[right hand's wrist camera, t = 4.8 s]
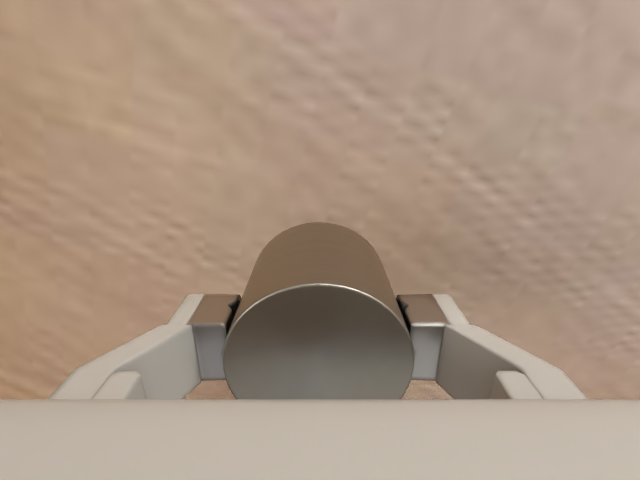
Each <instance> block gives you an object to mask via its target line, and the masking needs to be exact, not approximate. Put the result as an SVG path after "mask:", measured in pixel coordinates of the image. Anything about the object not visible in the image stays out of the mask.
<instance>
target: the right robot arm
mask: <svg viewBox="0 0 640 480" xmlns="http://www.w3.org/2000/svg"><path fill="white" fill-rule="evenodd" d="M240 301H241V297H240V295H229V294H189V295H187V296H186V297H185V299H184V300H183V302H182V303H181V305H180V306H179V307H178V309H177V310H176V312H175V313H174V315H173V316H172V317H171V319H170V320H169V322H168V323H167V325H160V326H158V327H156V328H154V329H152V330H150V331H148V332H146V333H144V334H142V335H140V336H138V337H136V338H135V339H133V340H131V341H129V342H127V343H125V344H123V345H121V346H119V347H117V348H115V349H113V350H111V351H109V352H107V353H106V354H104V355H102V356H100V357H98V358H96V359H94V360H92V361H90V362H88V363H86V364H84V365H82V366H80V367H78V368H76V369H75V370H74V371H73V372H72V373H71V374H70V375H69V376H68V377H67V378H66V380H65V381H64V382H63V383H62V384H61V385H60V386H59V387H58V388H57V389H56V390H55V391H54V393H53V394H52V395H51V396H50V397H49V398H48V399H0V480H640V399H587V398H586V396H585V395H584V394H583V393H582V392H581V391H580V390H579V389H578V388H577V386H576V385H575V384H574V383H573V382H572V381H571V380H570V379H569V378H568V376H567V375H566V374H565V373H564V372H563V371H562V370H561V369H559V368H557V367H555V366H553V365H551V364H549V363H548V362H546V361H544V360H542V359H540V358H538V357H536V356H534V355H532V354H530V353H528V352H527V351H525V350H523V349H521V348H519V347H517V346H515V345H513V344H511V343H509V342H507V341H505V340H504V339H502V338H500V337H498V336H496V335H494V334H492V333H490V332H488V331H486V330H484V329H483V328H481V327H479V326H477V325H470V324H469V322H468V321H467V319H466V318H465V317H464V315H463V314H462V312H461V311H460V309H459V308H458V306H457V305H456V304H455V302H454V301H453V299H452V298H451V296H450V295H448V294H420V295H397V297H396V301H397V303H398V306H399V308H400V311H401V314H402V316H403V319H404V321H405V324H406V327H407V329H408V332H409V334H410V337H411V340H412V344H413V349H414V369H413V374H412V378H411V380H432V381H436V383H437V384H438V385H440V386H441V387H442V388H443V389H444V390H445V391H446V392H447V393H448V394H449V395H450V396H451V397H452V398H453V399H183V398H184V397H185V396H187V395H188V394H189V393H190V392H191V391H192V390H193V389H194V388H195V387H196V386H197V385H199V384H200V383H201V381H204V380H226V378H225V374H224V370H223V360H222V356H223V347H224V343H225V340H226V336H227V334H228V331H229V329H230V326H231V324H232V321H233V319H234V316H235V314H236V311H237V309H238V306H239V304H240Z"/></svg>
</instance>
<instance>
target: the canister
mask: <svg viewBox="0 0 640 480" xmlns="http://www.w3.org/2000/svg"><path fill="white" fill-rule="evenodd" d="M222 360H223V370H224V374H225V378H226V381H227V383H228V386H229V388H230V390H231V392H232V393H233V395H234V397H235V398H236V399H401V398H402V396H403V395H404V393H405V392H406V390H407V388H408V386H409V383H410V381H411V378H412V374H413V369H414V349H413V344H412V340H411V337H410V334H409V332H408V329H407V327H406V324H405V321H404V319H403V316H402V314H401V311H400V308H399V306H398V303H397V301H396V298H395V296H394V293H393V290H392V288H391V285H390V283H389V280H388V277H387V275H386V272H385V270H384V267H383V265H382V262H381V260H380V258H379V256H378V254H377V252H376V251H375V249H374V248H373V247H372V246H371V244H370V243H369V242H368V241H367V240H365V239H364V238H363V237H362V236H361V235H359V234H357V233H356V232H354V231H352V230H350V229H348V228H346V227H343V226H340V225H337V224H331V223H321V222H316V223H306V224H301V225H298V226H295V227H292V228H289V229H287V230H285V231H283V232H282V233H280V234H279V235H277V236H276V237H274V238H273V239H272V240H271V241H270V242H269V243H268V244H267V245H266V246H265V248H264V249H263V250H262V252H261V253H260V255H259V257H258V259H257V261H256V264H255V266H254V269H253V271H252V274H251V276H250V279H249V281H248V284H247V286H246V289H245V291H244V294H243V296H242V299H241V301H240V304H239V306H238V309H237V311H236V314H235V316H234V319H233V321H232V324H231V326H230V329H229V331H228V334H227V336H226V340H225V343H224V347H223V356H222Z"/></svg>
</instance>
